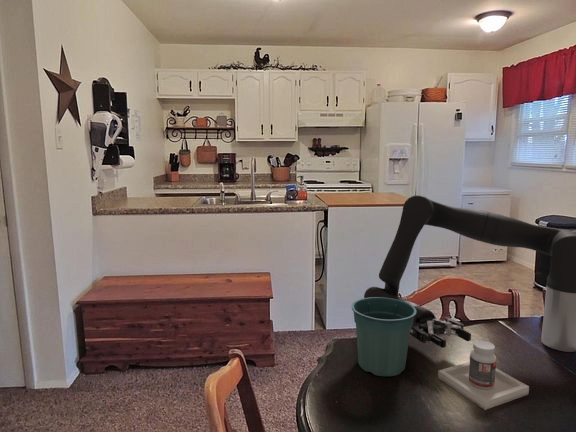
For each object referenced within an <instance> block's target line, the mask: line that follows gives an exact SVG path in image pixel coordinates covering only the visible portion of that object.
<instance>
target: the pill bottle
mask: <svg viewBox="0 0 576 432" xmlns="http://www.w3.org/2000/svg"><path fill="white" fill-rule="evenodd" d="M472 345H473V347H472V349H473V350H472V351H471V352H470V355H469V362H470V364H469V382H470V383H471V384H472V385H473V386H475V387H477V388H481V389H491V388H493V387H494V383H495V371H496V368H497V357H496V354H495V352H496V346H495V345H494V343H492V342H490V341H487V340H481V339H480V340H475V341H473V344H472Z"/></svg>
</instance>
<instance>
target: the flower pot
mask: <svg viewBox="0 0 576 432" xmlns="http://www.w3.org/2000/svg"><path fill="white" fill-rule="evenodd" d="M351 310H352V311H353V319H354V323H355V332H356V346H357V363H358V366H359V367H360V368H361V370H363V371H365V372H366V373H368V372H370V373H372V375H374V376H378V377H394V376H398V375H400V374H401V373H402V372H403V371H405V369H406V364H407V363H406V362H407V356H408V348H409V343H410V337H411V335H410V330H411V328H412V325H413V319H414V316H415V315H416V309H415V307H414V306H412V305H411V304H409V303H407V302H404V301H401V300H398V299H393V298H385V297H369V298H364V297H363V298H360V299H357V300H355V301H353V302H352V304H351Z"/></svg>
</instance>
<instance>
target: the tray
mask: <svg viewBox="0 0 576 432" xmlns="http://www.w3.org/2000/svg"><path fill="white" fill-rule="evenodd" d="M469 364H470V361H468V362H467V361H466V362H464V363H460V364H457V365H453V366H450V367H447V368H443V369H439V370H437V371H438V372H437V378H438V379H439V380H440V381H441V382H443V383H444V384H446V385H448V386H449V387H450V388H452V389H453V390H455V391H457V392H458V394H461V395H462V396H464V397H465V398H466V399H468V401H469V400H470V401H471V402H472V403H473V404H476V406H478V407H480V408H481V409H483V410H484V411H487V410H488V409H491V408H492V409H493V408H494V407H497V406H500V405H502V404H505V403H509V402H511V401H514V400H517V399H520V398H523V397H526V396H528V395H529V391H530V386H529V385H528V384H526V383H524V382H521V381H520V380H518V379H516V378H514V377H512V376H511V375H509V374H508V373H506V372H504V371H502V370H501V369H499V368H497V367H496V371H495V383H494V387H493V388H491V389H481V388H477V387H475V386H473V385H472V384H471V383H470V382H469Z"/></svg>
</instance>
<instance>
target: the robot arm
mask: <svg viewBox="0 0 576 432" xmlns="http://www.w3.org/2000/svg"><path fill="white" fill-rule="evenodd" d="M425 226H431V227H436V228H441V229H446V230H449V231H451V232H452V233H456V234H459V235H461V236H464V237H466V238H468V239H472V240H475V241H477V242H482V243H486V244H489V245H494V246H498V247H508V248H522V249H526V250H527V249H529V250H532V251H535V252H538V253H542V254H544V255H547V256H550V258H551V260H550V270H549V274H548V275H547V278H546V290H545V299H544V310H543V317H542V318H543V319H542V328H541V329H542V330H541V339H540V340H541V341H540V342H541V343H542V344H543V345H544V346H547V348H551V349H553V350H557V351H559V352H560V351H561V352H566V353H567V352H568V353H570V352H571V353H572V352H576V231H573V230H568V229H567V230H566V229H560V228H559V229H558V228H553V227H546V226H541V225H535V224H531V223H529V222H526V221H522V220H520V219H516V218H513V217H509V216H506V215H504V214H503V215H502V214H499V213H494V212H490V211H486V210H481V209H476V208H475V209H474V208H473V209H472V208H466V207H456V206H450V205H447V204H444V203H441V202H439V201H435V200H432V199H430V198H428V197H426V196H424V195H420V194H417V195H416V194H415V195H413V196H409V197H408V198H407V199H406V200H405V201H404V203H403V205H402V212H401V216H400V222H399V224H398V228H397V231H396V233H395V237H394V239H393V241H392V243H391V246H390V248H389V250H388V252H387V254H386V256H385V259H384V260H383V263H382V266H381V268H380V270H379V273H378V278H379V279H380V281H382V282H384V288H382V287H379V286H378V287H377V286H370V287H368V288H367V289H366V290H365V292H364V295H363V298H369V297H385V298H393V299H398V300H401V301H404V302H407V303H409V304H411V305H412V306H414V307H415V309H416V315H415V316H414V319H413V325H412V328H411V330H410V336H411V337H413V338H414V339H416V340H418V341H419V342H421V343H422V344H426V343H427V342H428V343H433V344H435V345H437V346H438V347H440V348H442V349H443V348H446V346H447V345H446V344H447V340H446V339H445V338H444V337H442V336H443V335H444V336H447V337H449V336H457V337H458V338H459V339H462V340H464V341H466V342H471V340H472V333H471V332H468V331H467V330H465V329H464V327H465V325H464V323H462V322H459V321H457V320H455V319H453V318H450V317H446V316H445V319H444V320H441V319H439V318H437V317H436V316H435V314H434V313H433V312H432V311H431V310H430V309H427V308H425V307H424V306H422V305H419V304H417V303H414V302H411V301H410V300H407V299H406V298H403V297H400V296H399V290H400V284H401V279H402V278H403V276H404V273H405V271H406V268H407V265H408V263H409V260H410V258H411V254H412V250H413V248H414V246H415V242H416V240H417V238H418V236H419V234H420V232H421V231H422V229H424V228H423V227H425ZM446 329H447V331H446ZM440 335H442V336H440Z"/></svg>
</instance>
